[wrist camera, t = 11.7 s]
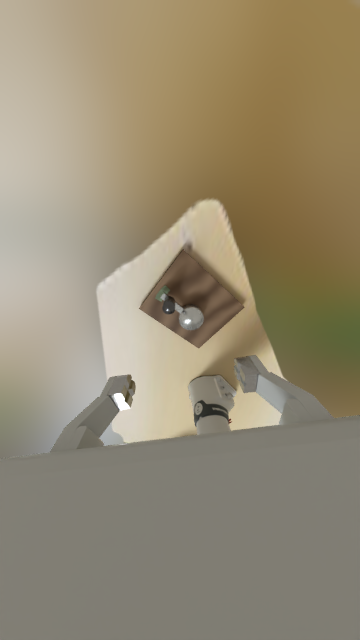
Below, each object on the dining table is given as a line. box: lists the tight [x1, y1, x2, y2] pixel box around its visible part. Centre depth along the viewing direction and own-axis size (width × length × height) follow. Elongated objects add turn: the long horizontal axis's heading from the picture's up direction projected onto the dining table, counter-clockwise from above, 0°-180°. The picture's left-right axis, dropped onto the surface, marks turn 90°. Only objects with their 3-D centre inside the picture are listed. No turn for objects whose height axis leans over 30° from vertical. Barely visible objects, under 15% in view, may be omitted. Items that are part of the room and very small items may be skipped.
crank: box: [160, 292, 204, 330], centre depth 37 cm, size 14×7×7 cm, turn 49°
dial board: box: [139, 250, 244, 348], centre depth 41 cm, size 24×20×2 cm
